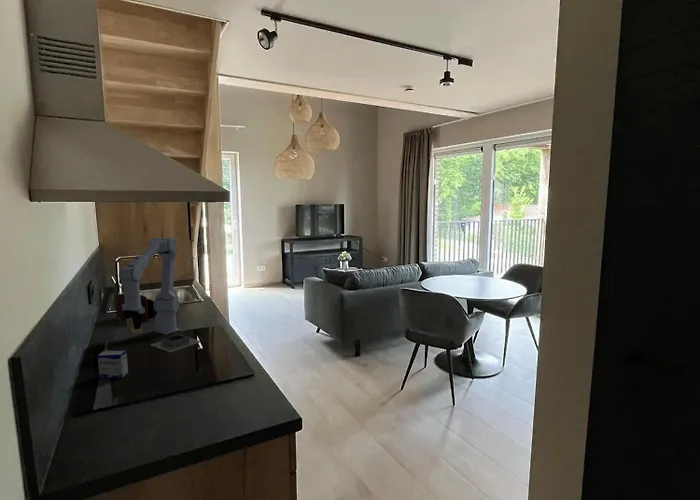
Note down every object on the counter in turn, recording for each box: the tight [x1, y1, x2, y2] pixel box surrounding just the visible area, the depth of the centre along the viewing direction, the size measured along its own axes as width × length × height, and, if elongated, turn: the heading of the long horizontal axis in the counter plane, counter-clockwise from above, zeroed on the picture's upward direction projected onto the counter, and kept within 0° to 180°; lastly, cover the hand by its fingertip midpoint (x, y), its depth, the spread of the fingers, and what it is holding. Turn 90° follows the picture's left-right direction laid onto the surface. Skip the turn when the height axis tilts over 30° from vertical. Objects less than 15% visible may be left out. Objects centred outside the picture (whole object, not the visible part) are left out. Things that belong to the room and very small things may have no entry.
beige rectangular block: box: [126, 318, 143, 336], centre depth 164 cm, size 4×4×6 cm
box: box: [97, 349, 129, 380], centre depth 138 cm, size 8×4×9 cm, turn 95°
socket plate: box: [150, 333, 201, 353], centre depth 169 cm, size 14×14×3 cm
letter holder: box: [115, 293, 157, 323], centre depth 208 cm, size 10×20×14 cm, turn 74°
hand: (134, 327), depth 164 cm, fingers closed on beige rectangular block, 4 cm apart
